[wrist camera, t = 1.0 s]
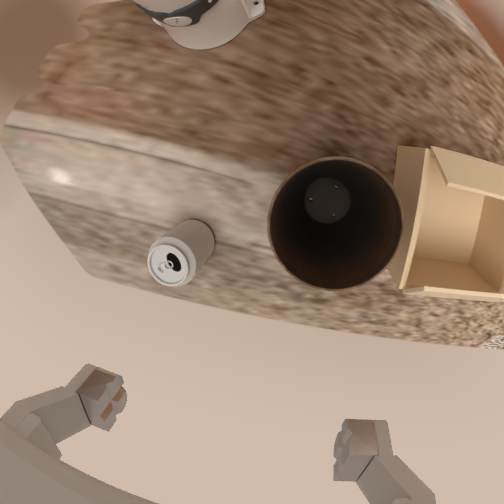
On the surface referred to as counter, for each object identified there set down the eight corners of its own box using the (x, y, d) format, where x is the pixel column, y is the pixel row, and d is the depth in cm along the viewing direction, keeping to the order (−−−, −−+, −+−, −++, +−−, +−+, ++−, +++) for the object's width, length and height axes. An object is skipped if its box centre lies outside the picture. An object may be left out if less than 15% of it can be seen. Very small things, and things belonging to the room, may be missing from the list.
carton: (397, 145, 42) (425, 148, 31) (489, 168, 40) (530, 179, 29) (380, 255, 48) (398, 288, 37) (468, 267, 46) (500, 298, 35)
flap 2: (498, 298, 35) (498, 302, 35) (402, 289, 37) (402, 293, 37) (526, 296, 28) (526, 300, 28) (424, 286, 30) (423, 290, 30)
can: (224, 250, 53) (202, 280, 42) (188, 266, 55) (160, 298, 44) (202, 210, 51) (174, 231, 40) (167, 229, 53) (133, 253, 42)
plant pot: (356, 137, 43) (380, 137, 28) (386, 228, 47) (417, 267, 32) (264, 171, 47) (245, 186, 32) (299, 257, 51) (295, 307, 36)
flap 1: (429, 149, 31) (430, 145, 30) (528, 178, 28) (530, 175, 28) (446, 186, 26) (448, 182, 26) (550, 214, 24) (551, 211, 24)
